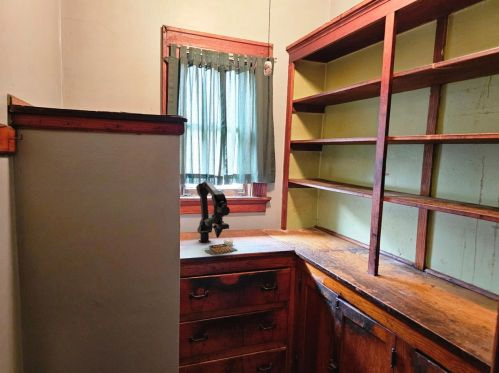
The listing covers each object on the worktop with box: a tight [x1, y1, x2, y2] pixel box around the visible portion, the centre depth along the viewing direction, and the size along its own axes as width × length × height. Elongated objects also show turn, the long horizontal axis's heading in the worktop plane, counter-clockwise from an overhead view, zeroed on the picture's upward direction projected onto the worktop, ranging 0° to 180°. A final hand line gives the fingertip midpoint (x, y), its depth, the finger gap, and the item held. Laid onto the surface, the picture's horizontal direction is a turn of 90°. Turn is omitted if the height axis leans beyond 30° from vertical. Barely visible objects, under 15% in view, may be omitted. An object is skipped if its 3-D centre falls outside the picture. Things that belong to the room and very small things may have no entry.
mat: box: [204, 246, 238, 256], centre depth 194 cm, size 9×18×1 cm, turn 124°
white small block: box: [223, 238, 234, 247], centre depth 207 cm, size 6×6×4 cm
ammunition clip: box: [208, 243, 232, 253], centre depth 193 cm, size 11×2×12 cm
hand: (217, 237), depth 197 cm, fingers closed
